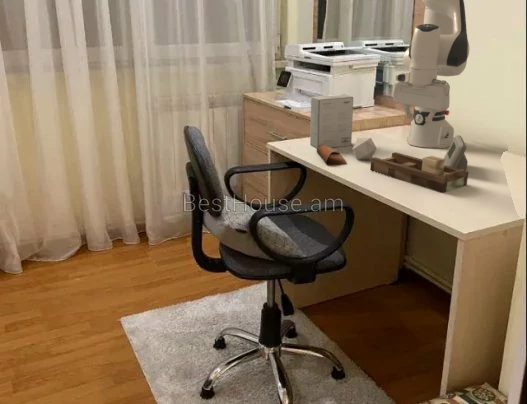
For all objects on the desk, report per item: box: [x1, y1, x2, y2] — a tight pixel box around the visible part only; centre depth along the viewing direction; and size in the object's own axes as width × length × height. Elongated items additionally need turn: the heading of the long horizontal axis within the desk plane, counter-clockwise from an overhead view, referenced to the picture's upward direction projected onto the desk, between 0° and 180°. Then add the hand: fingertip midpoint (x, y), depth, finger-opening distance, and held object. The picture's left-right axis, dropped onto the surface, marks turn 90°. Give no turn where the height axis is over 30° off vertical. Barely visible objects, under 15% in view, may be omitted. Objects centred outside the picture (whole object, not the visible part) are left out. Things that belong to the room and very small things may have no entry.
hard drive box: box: [309, 93, 354, 149], centre depth 231 cm, size 16×8×20 cm, turn 111°
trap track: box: [370, 152, 469, 194], centre depth 193 cm, size 13×30×6 cm, turn 38°
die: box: [351, 137, 377, 161], centre depth 215 cm, size 8×9×10 cm
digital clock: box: [443, 134, 468, 171], centre depth 202 cm, size 16×9×11 cm, turn 156°
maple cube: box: [422, 155, 445, 175], centre depth 188 cm, size 5×5×5 cm
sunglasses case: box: [316, 145, 348, 166], centre depth 216 cm, size 18×7×7 cm
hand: (418, 120), depth 189 cm, fingers open, 7 cm apart
